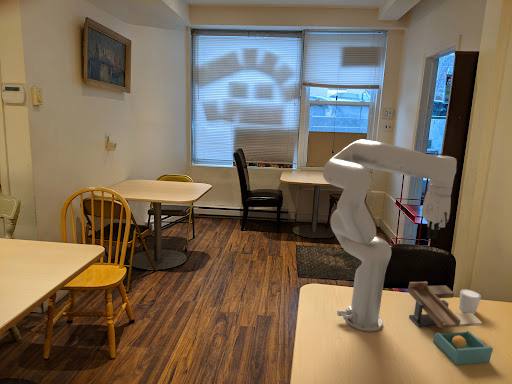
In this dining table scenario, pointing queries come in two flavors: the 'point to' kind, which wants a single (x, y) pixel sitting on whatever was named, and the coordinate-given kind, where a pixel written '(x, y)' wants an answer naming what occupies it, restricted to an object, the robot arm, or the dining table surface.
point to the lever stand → (423, 316)
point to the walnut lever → (440, 305)
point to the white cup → (469, 301)
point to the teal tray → (467, 355)
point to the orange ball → (459, 342)
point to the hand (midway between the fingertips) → (431, 238)
